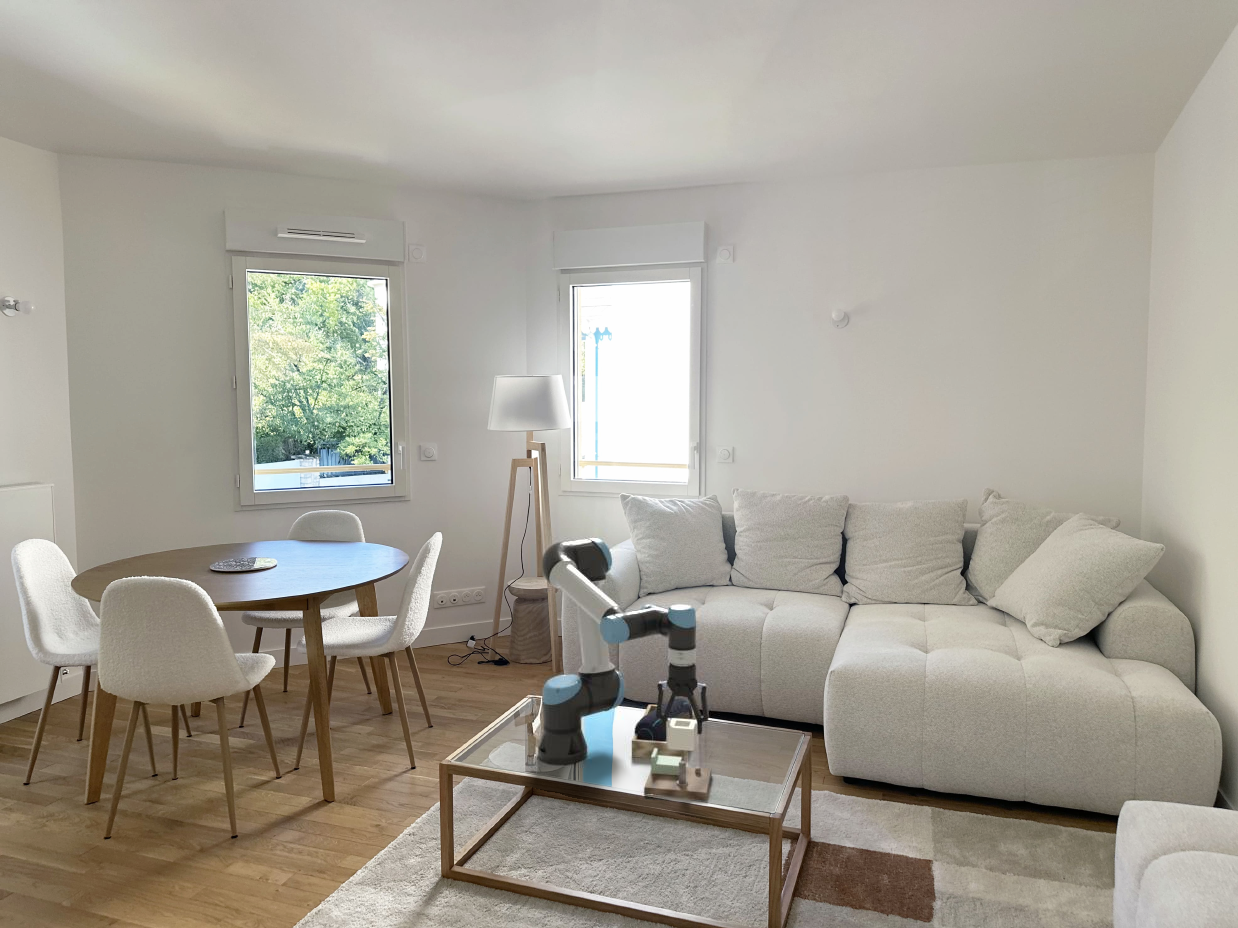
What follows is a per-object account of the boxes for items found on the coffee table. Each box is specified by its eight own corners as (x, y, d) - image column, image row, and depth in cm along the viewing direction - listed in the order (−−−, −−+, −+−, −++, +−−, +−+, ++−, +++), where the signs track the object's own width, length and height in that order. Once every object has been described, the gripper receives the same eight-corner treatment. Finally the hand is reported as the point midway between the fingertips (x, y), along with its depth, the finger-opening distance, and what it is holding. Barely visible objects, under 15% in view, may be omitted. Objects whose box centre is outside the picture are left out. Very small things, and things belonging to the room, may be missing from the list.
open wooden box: (631, 756, 255) (631, 740, 255) (648, 718, 286) (648, 704, 285) (684, 760, 252) (684, 744, 252) (695, 721, 282) (695, 707, 282)
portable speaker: (658, 754, 256) (658, 722, 255) (631, 747, 261) (630, 716, 260) (697, 727, 276) (697, 697, 276) (671, 721, 282) (671, 692, 281)
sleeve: (671, 738, 236) (671, 717, 235) (696, 740, 234) (696, 719, 234) (667, 748, 229) (667, 727, 229) (693, 750, 227) (693, 729, 227)
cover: (651, 773, 239) (651, 756, 238) (654, 764, 245) (654, 748, 244) (679, 775, 237) (679, 758, 237) (681, 766, 243) (681, 750, 243)
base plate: (644, 794, 231) (644, 765, 230) (653, 770, 245) (653, 743, 245) (706, 799, 227) (706, 770, 227) (711, 775, 242) (711, 748, 241)
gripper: (643, 664, 228) (644, 746, 230) (717, 668, 224) (717, 752, 226) (648, 656, 236) (649, 736, 237) (719, 660, 232) (719, 741, 233)
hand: (682, 743), depth 232 cm, fingers closed on sleeve, 7 cm apart
